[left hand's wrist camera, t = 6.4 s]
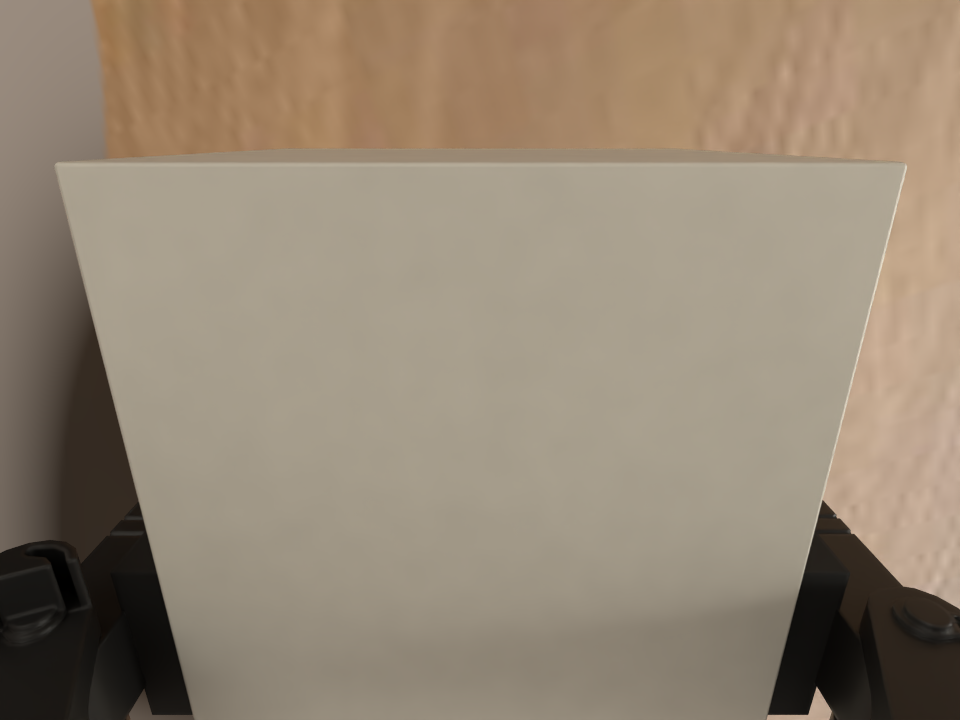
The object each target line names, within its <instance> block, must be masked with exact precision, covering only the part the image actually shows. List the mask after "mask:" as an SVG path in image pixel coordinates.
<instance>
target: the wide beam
mask: <svg viewBox="0 0 960 720" xmlns="http://www.w3.org/2000/svg"><path fill="white" fill-rule="evenodd" d="M54 168H55V172H56V176H57V180H58V184H59V188H60V192H61V196H62V200H63V204H64V208H65V212H66V216H67V220H68V224H69V228H70V231H71V235H72V239H73V243H74V247H75V251H76V255H77V259H78V263H79V267H80V271H81V275H82V279H83V282H84V287H85V291H86V294H87V298H88V302H89V306H90V310H91V314H92V318H93V322H94V326H95V330H96V334H97V338H98V342H99V346H100V350H101V354H102V358H103V362H104V366H105V369H106V373H107V377H108V381H109V385H110V389H111V393H112V397H113V401H114V405H115V409H116V413H117V417H118V421H119V425H120V429H121V433H122V437H123V441H124V444H125V448H126V452H127V456H128V460H129V464H130V468H131V472H132V476H133V480H134V484H135V488H136V492H137V496H138V500H139V504H140V508H141V512H142V516H143V520H144V523H145V527H146V531H147V535H148V539H149V543H150V547H151V551H152V555H153V559H154V563H155V567H156V571H157V575H158V579H159V583H160V587H161V591H162V595H163V598H164V602H165V606H166V610H167V614H168V618H169V622H170V626H171V630H172V634H173V638H174V642H175V646H176V650H177V654H178V658H179V662H180V666H181V670H182V673H183V677H184V681H185V685H186V689H187V693H188V697H189V701H190V705H191V709H192V713H193V717H194V720H766V719H767V715H768V711H769V707H770V704H771V700H772V696H773V692H774V688H775V684H776V680H777V676H778V672H779V668H780V664H781V660H782V656H783V653H784V649H785V645H786V641H787V637H788V633H789V629H790V625H791V621H792V617H793V613H794V609H795V605H796V601H797V598H798V594H799V590H800V586H801V582H802V578H803V574H804V570H805V566H806V562H807V558H808V554H809V550H810V546H811V543H812V539H813V535H814V531H815V527H816V523H817V519H818V515H819V511H820V507H821V503H822V499H823V495H824V491H825V488H826V484H827V480H828V476H829V472H830V468H831V464H832V460H833V456H834V452H835V448H836V444H837V440H838V436H839V433H840V429H841V425H842V421H843V417H844V413H845V409H846V405H847V401H848V397H849V393H850V389H851V385H852V382H853V378H854V374H855V370H856V366H857V362H858V358H859V354H860V350H861V346H862V342H863V338H864V334H865V330H866V327H867V323H868V319H869V315H870V311H871V307H872V303H873V299H874V295H875V291H876V287H877V283H878V279H879V275H880V272H881V268H882V264H883V260H884V256H885V252H886V248H887V244H888V240H889V236H890V232H891V228H892V224H893V220H894V217H895V213H896V209H897V205H898V201H899V197H900V193H901V189H902V185H903V181H904V177H905V173H906V169H907V164H905V163H903V162H893V161H876V160H859V159H842V158H825V157H808V156H791V155H774V154H757V153H739V152H722V151H705V150H688V149H271V150H254V151H237V152H219V153H202V154H185V155H168V156H150V157H133V158H116V159H98V160H82V161H64V162H58V163H56V164H55V166H54Z"/></svg>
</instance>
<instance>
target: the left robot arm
mask: <svg viewBox="0 0 960 720" xmlns="http://www.w3.org/2000/svg"><path fill="white" fill-rule="evenodd" d="M850 531H851V530H850V529H849V528H848V527H847V526H846V525H845V524H844V523H843V521H842V520H841V519H837V517H836V514H835V513H834V512H833V511H832V510H831V509H830V507H829V506H828V505H827V504H826V503H825V502H824V501H823V500H822V503H821V507H820V511H819V515H818V519H817V523H816V527H815V531H814V535H813V539H812V543H811V546H810V550H809V554H808V558H807V562H806V566H805V570H804V574H803V578H802V582H801V586H800V590H799V594H798V598H797V601H796V605H795V609H794V613H793V617H792V621H791V625H790V629H789V633H788V637H787V641H786V645H785V649H784V653H783V656H782V660H781V664H780V668H779V672H778V676H777V680H776V684H775V688H774V692H773V696H772V700H771V704H770V707H769V711H768V715H808V713H809V710H810V707H811V703H812V700H813V697H814V693H815V690H816V687H818V689H819V690H820V692H821V694H822V695H823V697H824V699H825V700H826V702H827V704H828V705H829V707H830V709H831V710H832V713H831V716H830V720H960V609H958V608H957V607H955V606H953V605H951V604H950V603H948V602H946V601H944V600H942V599H941V598H939V597H937V596H934V595H932V594H929V593H926V592H923V591H920V590H918V589H915V588H909V587H903V586H902V585H901V584H900V583H899V582H898V581H897V580H896V579H895V577H894V576H893V575H892V574H891V573H890V572H889V571H888V570H887V569H886V568H885V567H884V566H883V565H882V563H881V562H880V561H879V560H878V559H877V558H876V557H875V556H874V555H873V554H872V553H871V552H870V551H869V549H868V548H867V547H866V546H865V545H864V544H863V543H862V542H861V541H860V540H859V539H858V538H857V537H856V535H855V534H851V532H850ZM144 688H145V692H146V695H147V698H148V702H149V705H150V708H151V712H152V714H153V715H193V713H192V709H191V705H190V701H189V697H188V693H187V689H186V685H185V681H184V677H183V673H182V670H181V666H180V662H179V658H178V654H177V650H176V646H175V642H174V638H173V634H172V630H171V626H170V622H169V618H168V614H167V610H166V606H165V602H164V598H163V595H162V591H161V587H160V583H159V579H158V575H157V571H156V567H155V563H154V559H153V555H152V551H151V547H150V543H149V539H148V535H147V531H146V527H145V523H144V520H143V516H142V512H141V508H140V504H139V502H138V503H137V504H136V505H135V506H134V507H133V508H132V509H131V510H130V512H129V513H128V514H127V515H126V516H125V519H124V520H121V521H120V522H119V523H118V525H117V526H116V527H115V528H114V529H113V530H112V531H111V534H110V536H106V537H105V539H104V540H103V541H102V542H101V543H100V544H99V545H98V546H97V547H96V548H95V549H94V551H93V552H92V553H91V554H90V555H89V556H88V557H87V558H86V559H85V560H84V561H83V562H82V564H80V561H79V557H78V554H77V551H76V548H74V547H73V546H71V545H70V544H68V543H67V542H62V541H53V540H47V541H41V542H33V543H28V544H24V545H21V546H18V547H15V548H12V549H9V550H6V551H4V552H2V553H0V720H130V716H129V712H130V711H131V709H132V707H133V706H134V704H135V702H136V701H137V699H138V697H139V696H140V694H141V692H142V691H143V689H144Z"/></svg>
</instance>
